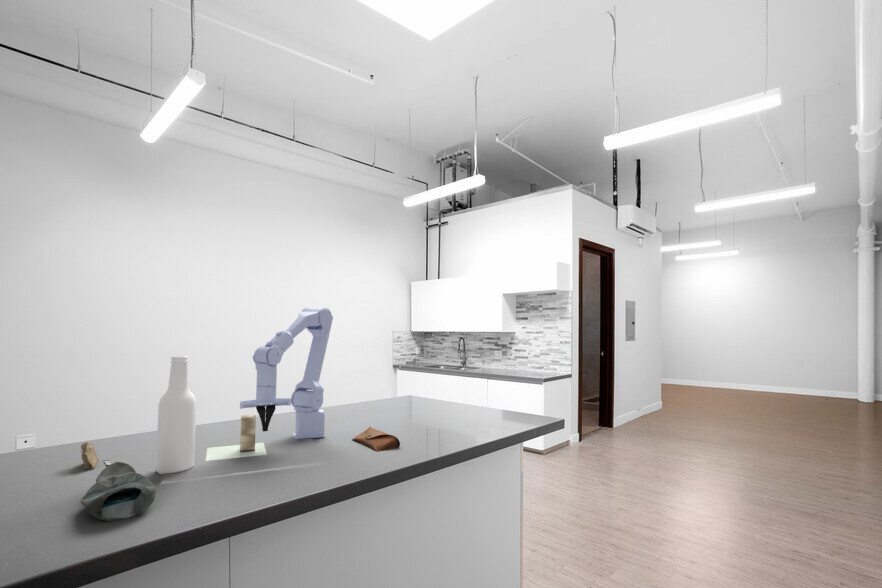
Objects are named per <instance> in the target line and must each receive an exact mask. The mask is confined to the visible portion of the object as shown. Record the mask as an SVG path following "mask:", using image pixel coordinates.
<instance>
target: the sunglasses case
mask: <svg viewBox="0 0 882 588" xmlns="http://www.w3.org/2000/svg"><path fill="white" fill-rule="evenodd" d="M351 441H353V442H355V443H359V444H361V445H363V446H365V447H368V448H370V449H372V450H373V451H376V452H383V451H387V450H392V449H397V448H400V446H401V442H400V440H399V438H398V437H397V436H396V435H392V434H388V433H387V432H383V431H382V430H378V429H375V428H373V427H371V426H369V427H368V428H367V429H365V430H364V431H362V432H360V433H359V434H357V435H356V436H355V437H353V438H352V439H351Z"/></svg>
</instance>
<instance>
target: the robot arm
mask: <svg viewBox="0 0 882 588" xmlns="http://www.w3.org/2000/svg"><path fill="white" fill-rule="evenodd" d="M333 320H334V316H333V314H332V312H331V310H330V308H328V307H322V308H318V307H317V308H313V307H312V308H309V307H305V308H303V309H302V310H301V311H299V313H298V317H297V318H296V319H295V320H294V321H293V322H292V323H291V325H289V327H287V329H286V330H281V331H277V332H275V335H274V336H273V337H272V338H271V339H270V340H269V341H267V342H266V344H265V345H264V346H263V345H262V346H259V347H258V348H257V349H256V350H255V351H254V354H253V355H252V360H253V363H254V364H255V370H256V390H255V394H256V396H255V399H249V400H240V402H239V409H242V410H243V409H249V408H252V409H253V408H255V409H256V411H257V413H258V416H259V419H260V422H261V428H262V429H261V431H262V432H268V431H269V426H270V423H271V419H272V418H273V416H274V413H275V411H276V407H280V406H292V407H293V410H295V430H294V431H295V432H293V433H292V435H293V436H294V439H297V440H298V439H307V438H311V439H317V438H318V439H319V438H324V437H326V436H325V421H326V420H325V410H324V409H322V406H323V403H324V390H325V389H324V387H323V386H322V385H321V384H320V383H319V382H320V378H321V373H322V370H323V365H324V360H325V356H326V351H327V347H328V343H329V337H330V333H331V329H332V324H333ZM305 330H306V331H308V332H309V333H311V335H312V338H311V339H312V340H311V344H310V347H309V348H310V349H309V353H308V357H307V361H306V366H305V369H304V373H303V376H302V377H303V378H302V380H301V381H299V382H298V383H296V385H295V389H294V391H293V392H292V393H291V397H289V398H288V397H287V398H285V397H284V398H283V397H282V398H278V397H277V377H278V376H277V373H278V371H277V370H278V364H280V363H281V360H282V357H283V355H284V353H285V352H286V351H287V350H289V348H291V347H292V345H293V344H294V338H296V337H297V336H298V335H299V334H301V333H302V332H303V331H305Z"/></svg>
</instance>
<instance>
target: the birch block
mask: <svg viewBox="0 0 882 588" xmlns="http://www.w3.org/2000/svg"><path fill="white" fill-rule="evenodd" d="M256 422H257V415H256V414H247V415H246V414H245V415H241V416H240V432H239V433H240V436H239V437H240V438H239V440H240V441H239V445H240V453H241V452H251V451H255V443H256V429H257V428H256V427H257V423H256Z"/></svg>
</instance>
